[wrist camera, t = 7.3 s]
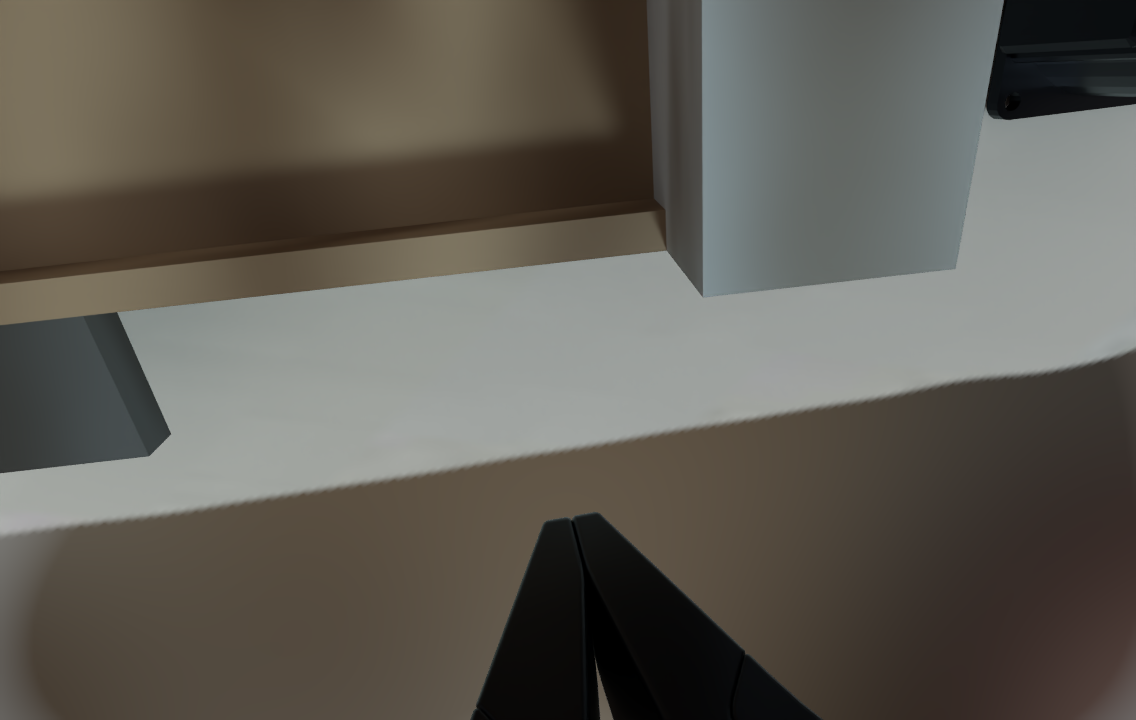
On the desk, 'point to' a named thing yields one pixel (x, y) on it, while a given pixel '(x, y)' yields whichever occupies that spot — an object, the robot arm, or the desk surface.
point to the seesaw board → (448, 160)
